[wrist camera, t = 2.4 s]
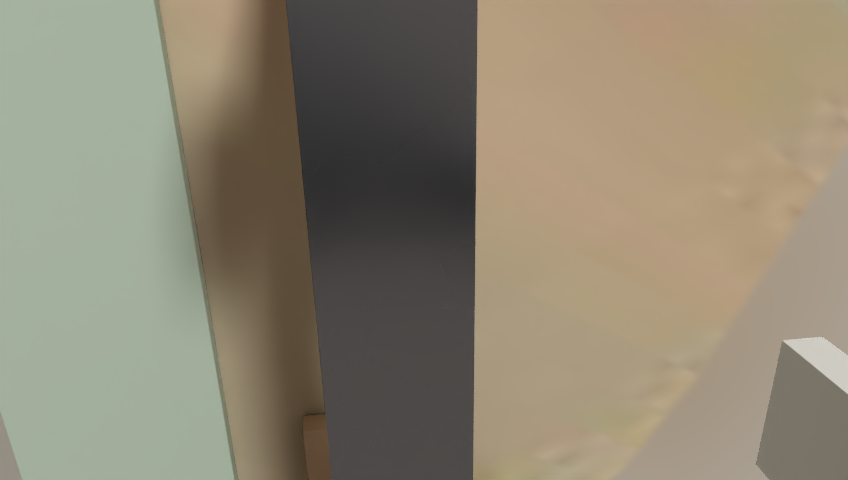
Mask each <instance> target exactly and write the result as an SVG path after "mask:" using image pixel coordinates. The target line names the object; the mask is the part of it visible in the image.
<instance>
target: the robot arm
mask: <svg viewBox="0 0 848 480" xmlns="http://www.w3.org/2000/svg"><path fill="white" fill-rule="evenodd" d="M756 465H757V466H758V467H759V468H760V469H761V470H762V472H763V473H764V474H765V475H766V476H767V477H768V479H770V480H848V356H847V355H846V354H845V353H843V352H842V351H840V350H839V349H838V348H837V347H835V346H834V345H832V344H831V343H830V342H829V341H827V340H826V339H824V338H823V337H816V338H804V339H793V340H783V341H782V344H781V349H780V354H779V358H778V364H777V368H776V373H775V377H774V382H773V387H772V391H771V396H770V401H769V405H768V410H767V415H766V420H765V424H764V429H763V434H762V438H761V443H760V448H759V453H758V457H757V462H756ZM0 480H22V477H21V474H20V471H19V468H18V465H17V462H16V458H15V455H14V452H13V449H12V446H11V443H10V440H9V437H8V434H7V430H6V427H5V424H4V421H3V418H2V415H1V412H0Z"/></svg>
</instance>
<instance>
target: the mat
mask: <svg viewBox="0 0 848 480" xmlns="http://www.w3.org/2000/svg"><path fill="white" fill-rule="evenodd" d="M0 412H1V415H2V418H3V421H4V424H5V427H6V430H7V434H8V437H9V440H10V443H11V446H12V449H13V452H14V455H15V458H16V462H17V465H18V468H19V471H20V474H21V477H22V480H238V477H237V471H236V465H235V459H234V453H233V447H232V441H231V435H230V429H229V423H228V417H227V411H226V405H225V399H224V393H223V387H222V381H221V375H220V368H219V362H218V356H217V350H216V344H215V338H214V332H213V326H212V320H211V314H210V308H209V302H208V296H207V290H206V284H205V278H204V272H203V266H202V260H201V254H200V248H199V242H198V235H197V229H196V223H195V217H194V211H193V205H192V199H191V193H190V187H189V181H188V175H187V169H186V163H185V157H184V151H183V145H182V139H181V133H180V127H179V121H178V115H177V109H176V102H175V96H174V90H173V84H172V78H171V72H170V66H169V60H168V54H167V48H166V42H165V36H164V30H163V24H162V18H161V12H160V6H159V0H0Z"/></svg>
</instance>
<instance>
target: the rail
mask: <svg viewBox="0 0 848 480" xmlns="http://www.w3.org/2000/svg"><path fill="white" fill-rule="evenodd" d="M286 7H287V17H288V28H289V38H290V49H291V59H292V70H293V80H294V91H295V101H296V112H297V122H298V132H299V143H300V153H301V164H302V174H303V185H304V195H305V206H306V216H307V227H308V237H309V248H310V258H311V268H312V279H313V289H314V300H315V310H316V321H317V331H318V342H319V352H320V363H321V373H322V384H323V394H324V404H325V415H326V425H327V436H328V446H329V457H330V467H331V478H332V480H473V412H474V307H475V201H476V96H477V0H286Z"/></svg>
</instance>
